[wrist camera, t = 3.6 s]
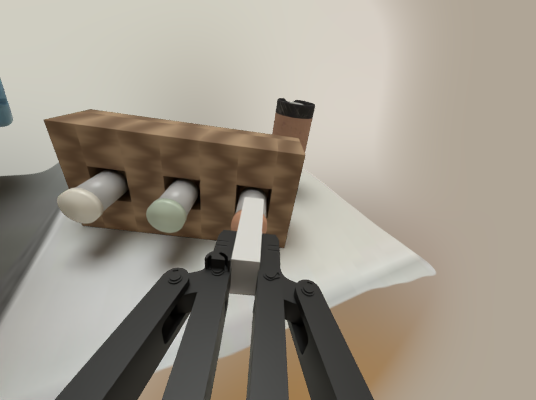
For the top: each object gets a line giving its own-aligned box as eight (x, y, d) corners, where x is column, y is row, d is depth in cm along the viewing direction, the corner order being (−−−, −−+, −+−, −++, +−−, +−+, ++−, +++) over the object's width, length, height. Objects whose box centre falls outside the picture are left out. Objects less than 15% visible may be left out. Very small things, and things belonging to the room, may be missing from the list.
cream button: (64, 221, 27) (51, 189, 25) (102, 193, 33) (94, 165, 31) (102, 225, 27) (92, 194, 25) (133, 196, 33) (127, 169, 31)
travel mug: (287, 202, 49) (307, 106, 39) (258, 190, 52) (270, 98, 42) (300, 190, 55) (320, 104, 45) (274, 180, 58) (287, 97, 48)
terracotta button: (229, 239, 28) (231, 210, 26) (237, 209, 34) (239, 183, 32) (264, 243, 28) (269, 215, 26) (265, 212, 34) (269, 187, 32)
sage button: (148, 230, 27) (143, 200, 25) (171, 201, 33) (168, 174, 31) (185, 234, 28) (182, 205, 25) (200, 205, 34) (199, 178, 31)
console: (82, 225, 35) (43, 119, 27) (113, 199, 42) (90, 109, 33) (284, 247, 36) (305, 155, 28) (282, 219, 43) (298, 138, 35)
